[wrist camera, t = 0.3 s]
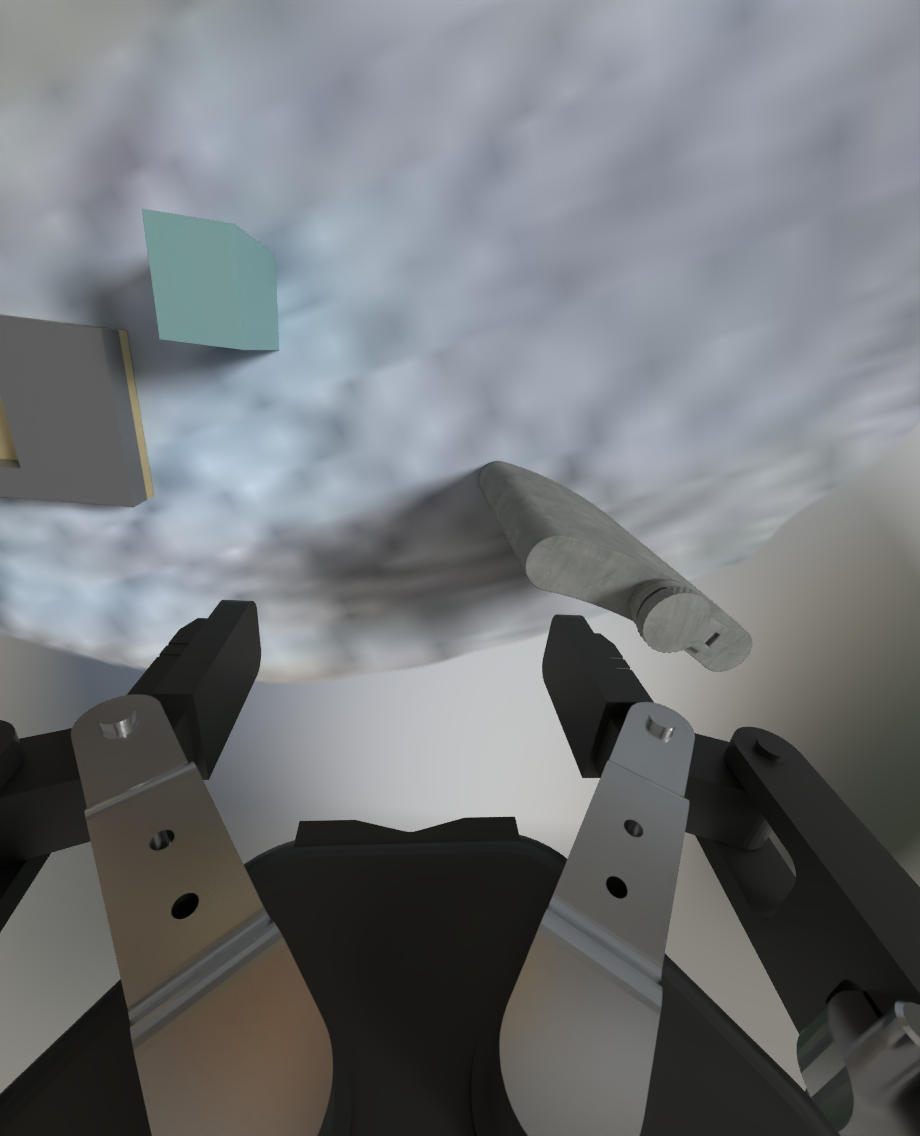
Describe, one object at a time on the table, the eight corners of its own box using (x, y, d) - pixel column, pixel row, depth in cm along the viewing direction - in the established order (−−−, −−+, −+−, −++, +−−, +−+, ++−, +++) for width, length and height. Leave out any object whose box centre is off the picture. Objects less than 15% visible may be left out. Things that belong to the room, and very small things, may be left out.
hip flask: (472, 486, 39) (524, 600, 21) (496, 444, 38) (573, 527, 20) (613, 562, 44) (755, 707, 26) (639, 526, 43) (807, 654, 25)
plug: (204, 242, 30) (141, 208, 23) (275, 253, 31) (234, 224, 24) (214, 341, 33) (159, 339, 26) (279, 350, 34) (243, 349, 26)
